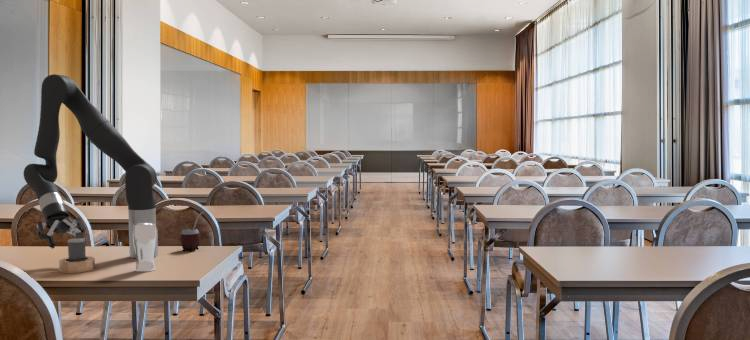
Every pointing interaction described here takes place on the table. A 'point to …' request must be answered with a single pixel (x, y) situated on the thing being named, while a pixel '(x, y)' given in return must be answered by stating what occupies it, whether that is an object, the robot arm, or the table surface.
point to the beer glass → (144, 246)
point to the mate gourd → (190, 238)
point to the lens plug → (76, 249)
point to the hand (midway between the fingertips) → (67, 245)
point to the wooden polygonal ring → (76, 265)
